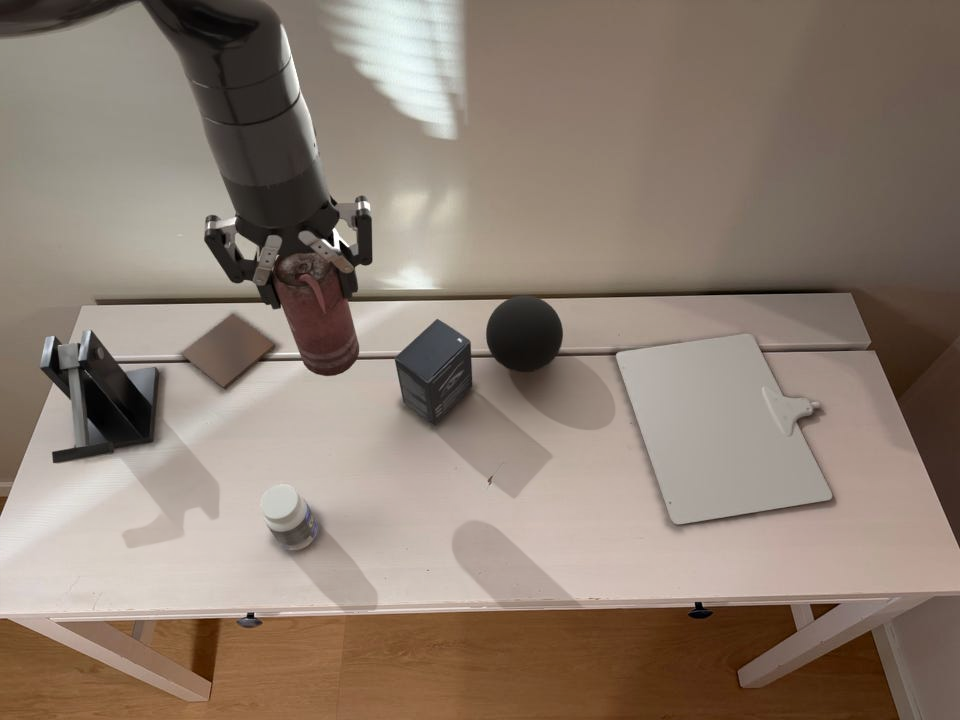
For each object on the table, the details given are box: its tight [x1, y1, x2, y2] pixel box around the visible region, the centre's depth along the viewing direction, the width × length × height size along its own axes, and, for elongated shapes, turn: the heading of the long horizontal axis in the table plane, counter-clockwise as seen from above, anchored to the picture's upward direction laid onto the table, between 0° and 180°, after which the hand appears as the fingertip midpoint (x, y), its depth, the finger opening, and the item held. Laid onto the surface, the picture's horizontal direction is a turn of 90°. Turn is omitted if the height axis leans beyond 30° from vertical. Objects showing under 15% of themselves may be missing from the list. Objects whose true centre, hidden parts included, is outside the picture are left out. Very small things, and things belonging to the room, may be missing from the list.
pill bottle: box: [259, 483, 318, 551], centre depth 73 cm, size 5×5×8 cm
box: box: [394, 318, 474, 426], centre depth 83 cm, size 8×6×11 cm
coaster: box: [180, 313, 276, 390], centre depth 91 cm, size 9×9×1 cm
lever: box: [51, 342, 115, 464], centre depth 75 cm, size 13×6×2 cm, turn 12°
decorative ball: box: [485, 295, 564, 373], centre depth 87 cm, size 10×10×10 cm
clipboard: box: [615, 333, 833, 526], centre depth 84 cm, size 25×24×1 cm
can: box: [272, 253, 360, 377], centre depth 65 cm, size 6×6×14 cm
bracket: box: [39, 329, 160, 450], centre depth 80 cm, size 11×9×14 cm
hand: (313, 296), depth 63 cm, fingers closed on can, 6 cm apart
